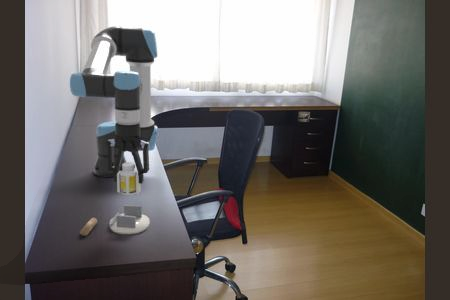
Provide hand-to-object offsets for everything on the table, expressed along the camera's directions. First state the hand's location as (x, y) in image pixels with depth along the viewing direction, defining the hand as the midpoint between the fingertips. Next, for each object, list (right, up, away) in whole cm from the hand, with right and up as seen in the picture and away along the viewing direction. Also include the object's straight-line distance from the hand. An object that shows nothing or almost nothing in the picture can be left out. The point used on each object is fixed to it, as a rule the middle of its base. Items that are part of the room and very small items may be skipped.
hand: (129, 191), depth 121 cm
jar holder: (-1, -12, +4) cm, 12 cm away
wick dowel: (-14, -11, -1) cm, 18 cm away
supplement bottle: (0, -1, 0) cm, 1 cm away
